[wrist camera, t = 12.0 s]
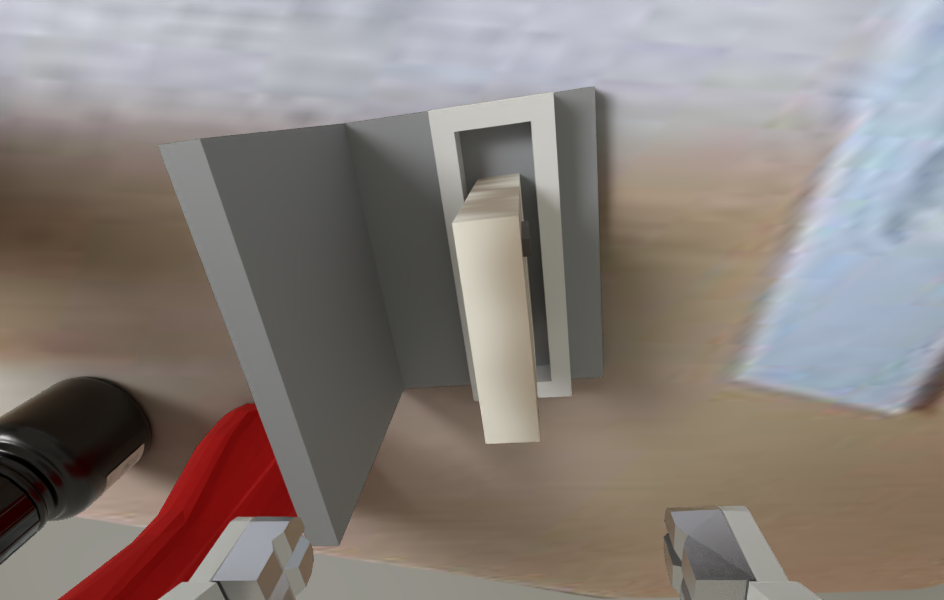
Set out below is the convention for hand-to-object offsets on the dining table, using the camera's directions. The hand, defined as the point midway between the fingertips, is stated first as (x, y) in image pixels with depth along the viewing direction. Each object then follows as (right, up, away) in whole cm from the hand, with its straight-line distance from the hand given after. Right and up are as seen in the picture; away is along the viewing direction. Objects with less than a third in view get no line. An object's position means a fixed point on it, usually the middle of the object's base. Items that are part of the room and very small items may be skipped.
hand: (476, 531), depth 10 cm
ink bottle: (-31, -5, +29) cm, 43 cm away
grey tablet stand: (0, +8, +19) cm, 21 cm away
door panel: (+2, +8, +18) cm, 20 cm away
